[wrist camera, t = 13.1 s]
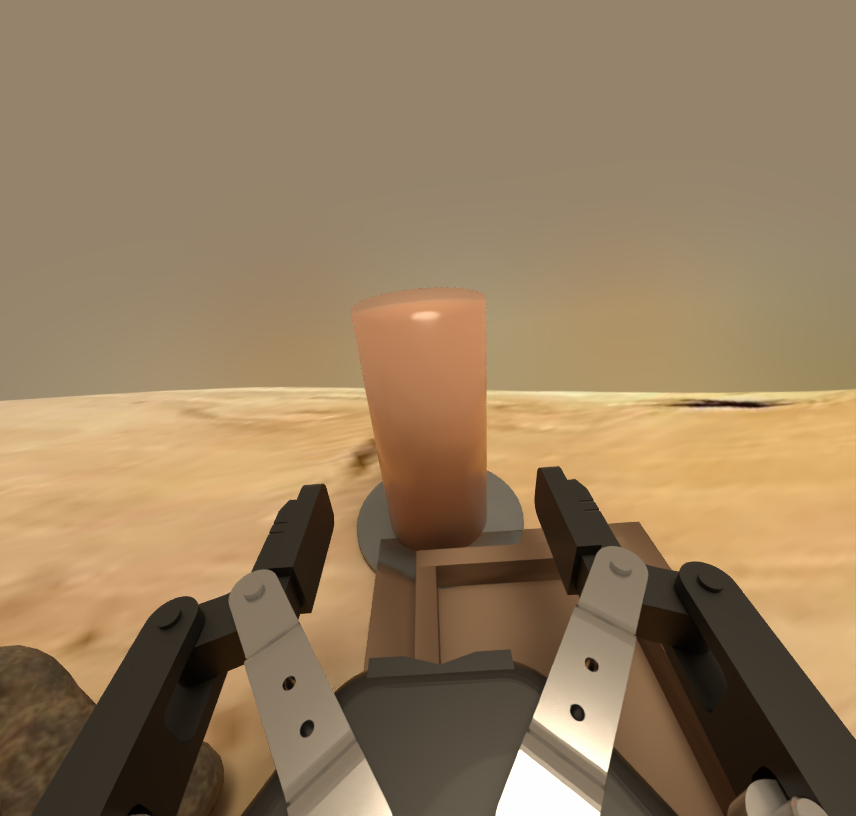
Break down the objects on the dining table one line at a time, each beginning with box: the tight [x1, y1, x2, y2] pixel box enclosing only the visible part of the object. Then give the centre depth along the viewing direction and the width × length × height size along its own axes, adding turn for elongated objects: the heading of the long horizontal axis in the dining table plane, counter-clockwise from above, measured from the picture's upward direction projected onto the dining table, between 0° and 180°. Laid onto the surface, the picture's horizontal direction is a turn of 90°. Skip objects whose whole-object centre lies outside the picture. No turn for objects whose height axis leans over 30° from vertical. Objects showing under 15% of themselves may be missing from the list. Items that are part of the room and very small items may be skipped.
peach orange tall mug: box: [351, 287, 487, 552], centre depth 22 cm, size 9×6×14 cm
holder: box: [364, 522, 737, 816], centre depth 15 cm, size 16×16×2 cm
